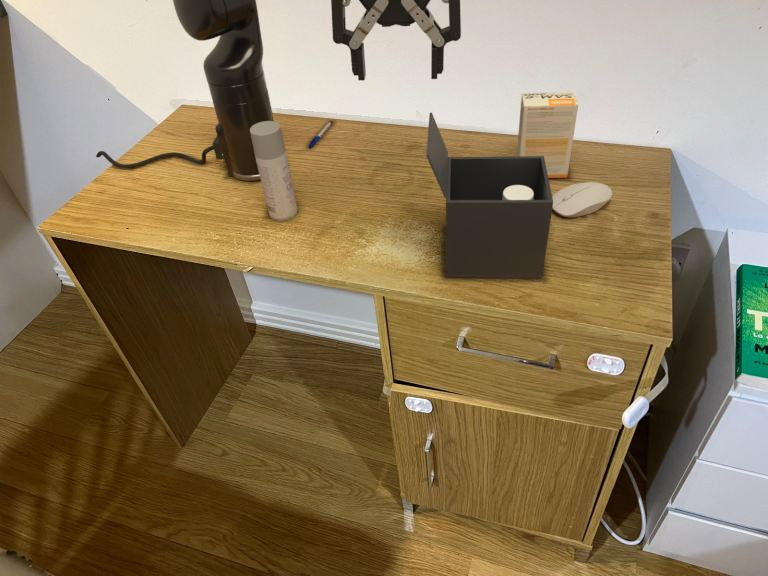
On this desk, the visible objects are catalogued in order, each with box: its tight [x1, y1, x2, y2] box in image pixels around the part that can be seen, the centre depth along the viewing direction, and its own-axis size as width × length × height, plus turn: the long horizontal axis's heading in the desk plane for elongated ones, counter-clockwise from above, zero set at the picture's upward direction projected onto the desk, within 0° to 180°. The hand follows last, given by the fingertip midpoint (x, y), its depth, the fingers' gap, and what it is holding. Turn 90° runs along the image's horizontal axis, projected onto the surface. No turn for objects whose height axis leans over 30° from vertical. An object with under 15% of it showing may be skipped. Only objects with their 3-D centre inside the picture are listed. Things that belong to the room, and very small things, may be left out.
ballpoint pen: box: [307, 120, 333, 149], centre depth 115 cm, size 10×1×1 cm, turn 162°
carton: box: [445, 155, 553, 280], centre depth 81 cm, size 13×11×12 cm
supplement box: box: [516, 91, 579, 179], centre depth 96 cm, size 8×5×13 cm, turn 84°
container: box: [250, 120, 299, 222], centre depth 91 cm, size 5×5×15 cm
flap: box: [425, 112, 449, 199], centre depth 75 cm, size 6×11×1 cm
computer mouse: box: [552, 181, 613, 218], centre depth 91 cm, size 6×10×3 cm, turn 112°
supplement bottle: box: [502, 185, 534, 200], centre depth 81 cm, size 5×5×10 cm
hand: (398, 77), depth 70 cm, fingers open, 8 cm apart
